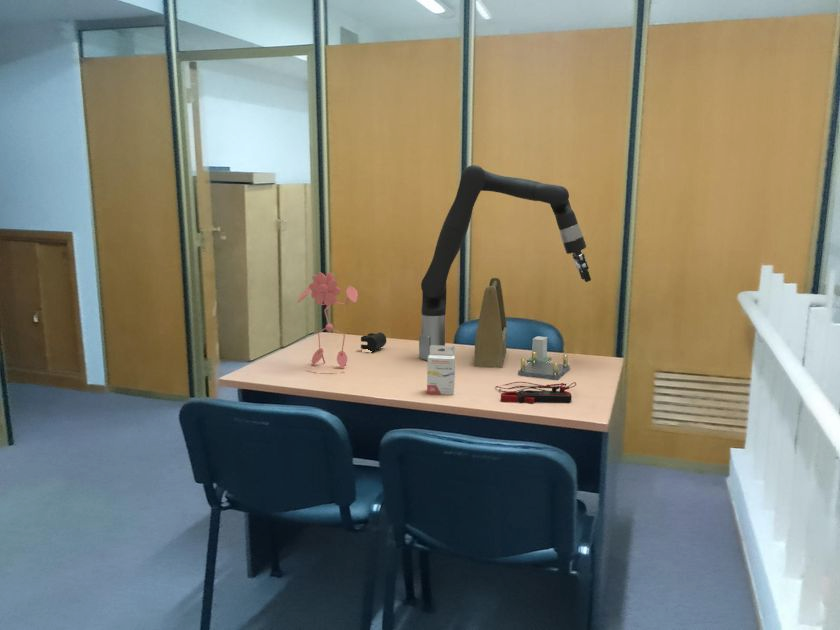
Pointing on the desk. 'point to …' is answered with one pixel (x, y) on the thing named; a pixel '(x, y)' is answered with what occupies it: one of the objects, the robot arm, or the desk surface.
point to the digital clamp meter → (537, 394)
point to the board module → (540, 349)
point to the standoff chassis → (544, 368)
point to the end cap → (373, 341)
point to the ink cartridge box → (441, 370)
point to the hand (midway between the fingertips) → (586, 280)
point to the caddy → (491, 328)
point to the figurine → (326, 293)
